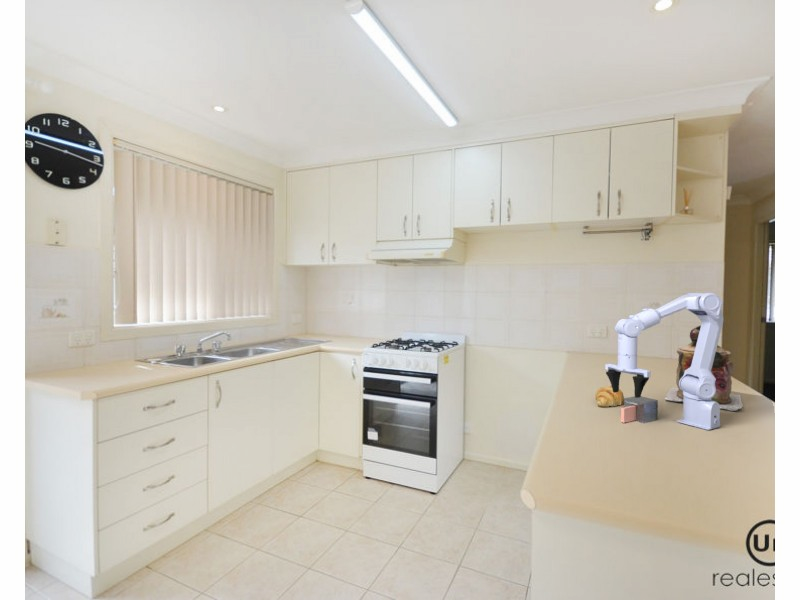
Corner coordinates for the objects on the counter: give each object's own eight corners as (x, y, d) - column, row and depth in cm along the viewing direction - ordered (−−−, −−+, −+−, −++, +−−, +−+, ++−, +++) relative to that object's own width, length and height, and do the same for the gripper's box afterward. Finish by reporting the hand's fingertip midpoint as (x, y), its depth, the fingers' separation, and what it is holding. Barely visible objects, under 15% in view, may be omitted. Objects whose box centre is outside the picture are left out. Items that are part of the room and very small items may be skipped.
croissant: (607, 419, 151) (618, 402, 148) (583, 401, 157) (593, 385, 154) (624, 406, 166) (635, 391, 163) (601, 391, 172) (611, 376, 169)
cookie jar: (670, 390, 182) (672, 319, 181) (741, 400, 166) (743, 323, 166) (663, 401, 163) (665, 322, 162) (743, 413, 147) (745, 326, 147)
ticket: (646, 417, 141) (646, 403, 141) (623, 422, 135) (624, 408, 135) (643, 416, 142) (643, 403, 142) (620, 422, 136) (621, 407, 135)
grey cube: (657, 419, 139) (657, 400, 139) (643, 423, 135) (644, 403, 135) (637, 414, 145) (638, 395, 145) (624, 417, 141) (624, 398, 141)
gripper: (600, 352, 140) (599, 391, 140) (641, 358, 127) (641, 401, 128) (612, 351, 143) (611, 388, 144) (654, 357, 131) (653, 398, 131)
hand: (626, 394), depth 136 cm, fingers open, 7 cm apart
